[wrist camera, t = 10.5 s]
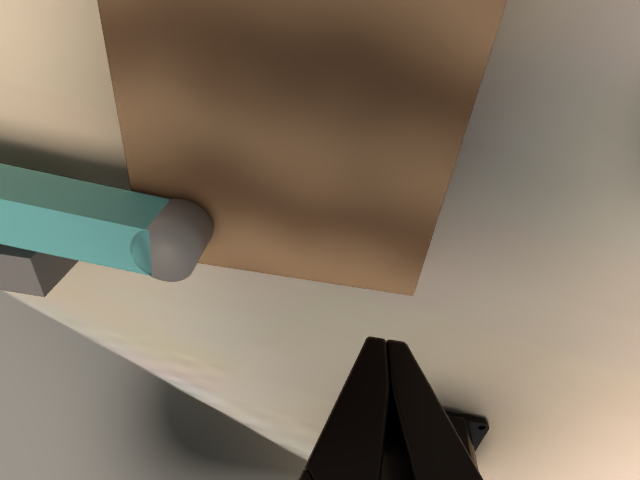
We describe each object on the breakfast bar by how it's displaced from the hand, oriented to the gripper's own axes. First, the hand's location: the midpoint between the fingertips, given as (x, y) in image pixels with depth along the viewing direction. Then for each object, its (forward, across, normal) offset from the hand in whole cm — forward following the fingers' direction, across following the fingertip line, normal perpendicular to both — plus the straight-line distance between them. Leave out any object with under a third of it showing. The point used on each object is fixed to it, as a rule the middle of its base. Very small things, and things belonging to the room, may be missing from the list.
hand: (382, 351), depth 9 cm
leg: (+10, +15, +4) cm, 18 cm away
